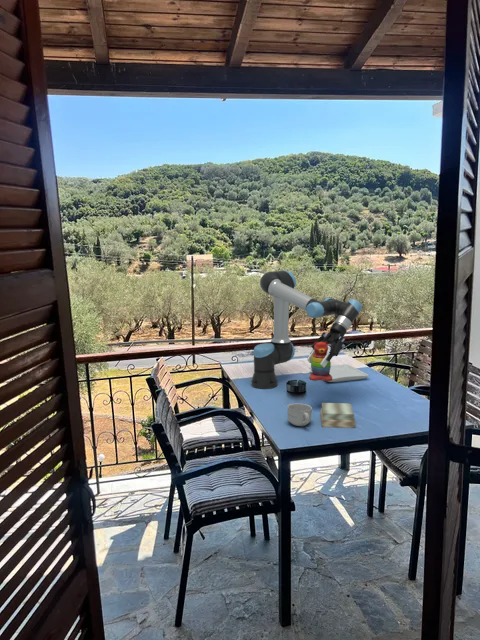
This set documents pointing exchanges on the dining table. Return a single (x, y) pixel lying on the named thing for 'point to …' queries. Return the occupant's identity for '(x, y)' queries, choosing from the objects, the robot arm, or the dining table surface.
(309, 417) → the teacup
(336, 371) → the square plate
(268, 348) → the robot arm
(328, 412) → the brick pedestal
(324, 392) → the dining table surface
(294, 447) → the dining table surface
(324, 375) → the stacking bear
